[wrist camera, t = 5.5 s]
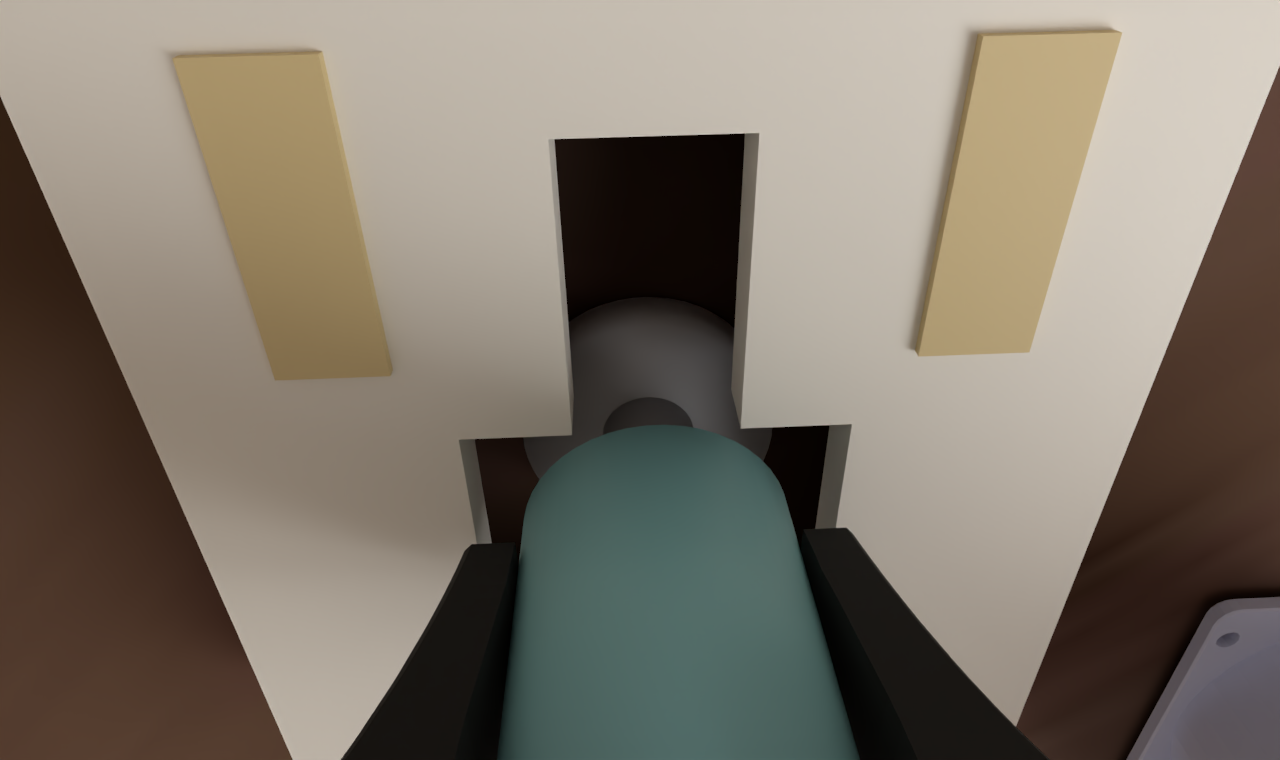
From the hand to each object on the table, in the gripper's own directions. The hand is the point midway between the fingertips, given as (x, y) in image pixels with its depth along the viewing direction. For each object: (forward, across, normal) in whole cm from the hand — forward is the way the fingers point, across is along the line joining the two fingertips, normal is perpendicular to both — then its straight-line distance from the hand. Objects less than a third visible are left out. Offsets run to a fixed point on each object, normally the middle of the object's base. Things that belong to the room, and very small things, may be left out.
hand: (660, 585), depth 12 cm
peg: (+4, 0, 0) cm, 4 cm away
